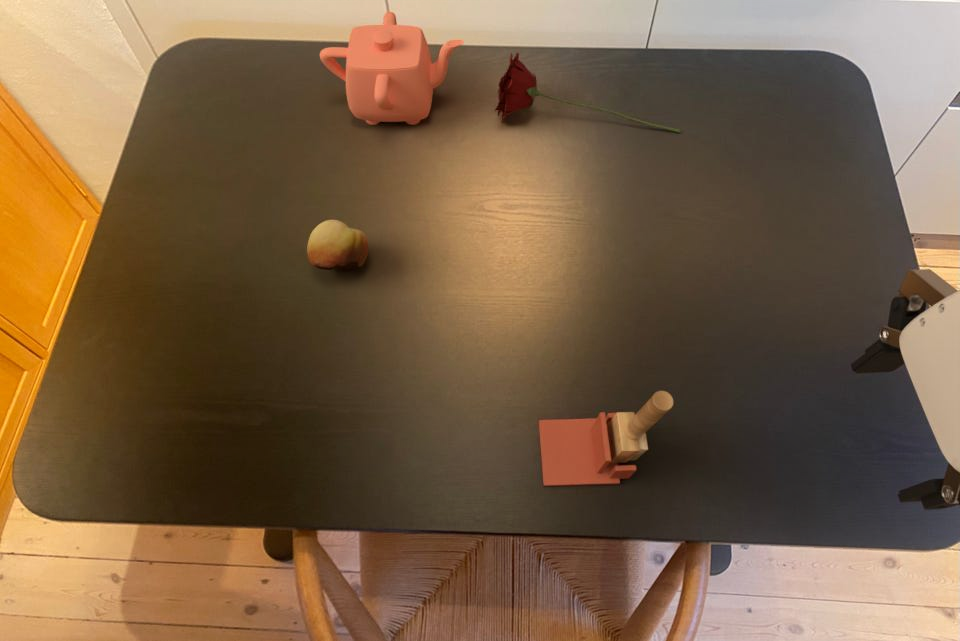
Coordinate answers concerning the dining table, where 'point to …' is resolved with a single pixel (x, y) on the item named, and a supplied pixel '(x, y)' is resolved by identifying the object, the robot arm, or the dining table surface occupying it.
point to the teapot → (389, 71)
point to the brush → (635, 428)
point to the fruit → (337, 246)
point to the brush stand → (579, 452)
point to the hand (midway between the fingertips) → (893, 429)
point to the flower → (534, 93)
